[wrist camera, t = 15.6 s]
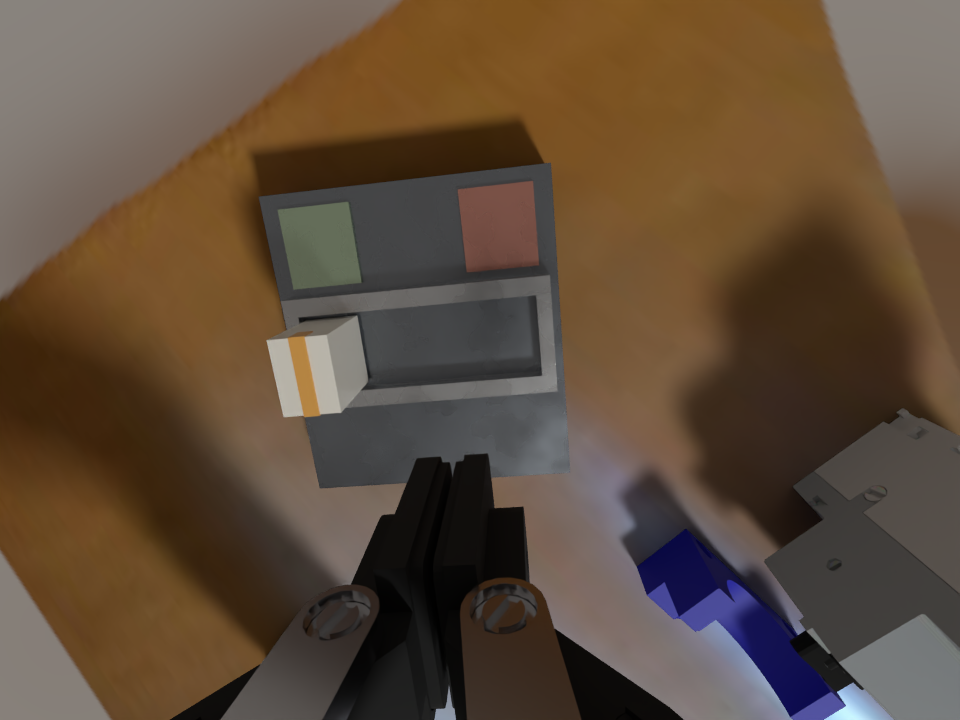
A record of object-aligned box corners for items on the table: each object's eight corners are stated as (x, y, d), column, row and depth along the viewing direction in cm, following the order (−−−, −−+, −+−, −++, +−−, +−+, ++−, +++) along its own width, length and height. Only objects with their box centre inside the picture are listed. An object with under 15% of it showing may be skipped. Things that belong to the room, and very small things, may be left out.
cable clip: (636, 565, 36) (659, 631, 31) (685, 527, 35) (719, 588, 30) (744, 663, 38) (785, 742, 32) (794, 629, 37) (846, 705, 31)
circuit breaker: (717, 539, 35) (859, 762, 21) (902, 407, 32) (1223, 564, 18) (783, 606, 36) (960, 861, 22) (968, 486, 33) (1320, 693, 19)
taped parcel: (368, 382, 30) (340, 414, 25) (319, 386, 30) (283, 418, 25) (357, 314, 29) (325, 334, 24) (306, 319, 29) (265, 339, 24)
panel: (565, 450, 34) (571, 480, 30) (335, 466, 35) (314, 496, 32) (547, 168, 29) (552, 160, 26) (282, 198, 31) (249, 196, 27)
